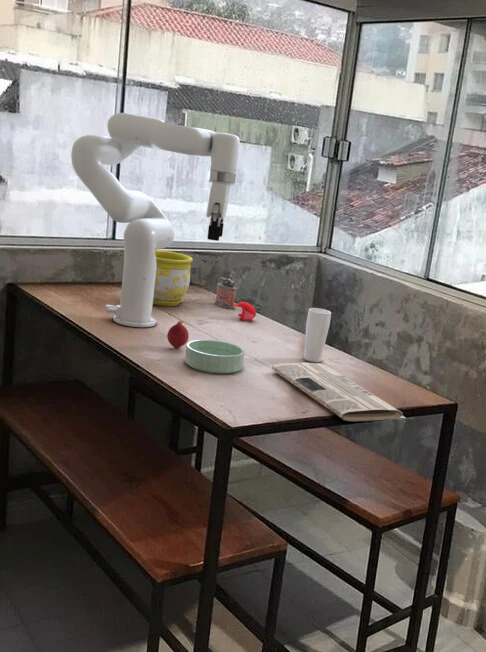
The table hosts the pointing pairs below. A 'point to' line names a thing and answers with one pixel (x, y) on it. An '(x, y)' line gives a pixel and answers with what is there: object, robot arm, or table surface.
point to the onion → (178, 335)
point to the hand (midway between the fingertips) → (214, 238)
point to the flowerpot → (171, 277)
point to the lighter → (225, 293)
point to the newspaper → (337, 392)
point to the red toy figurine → (246, 311)
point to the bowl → (214, 356)
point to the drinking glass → (316, 333)
